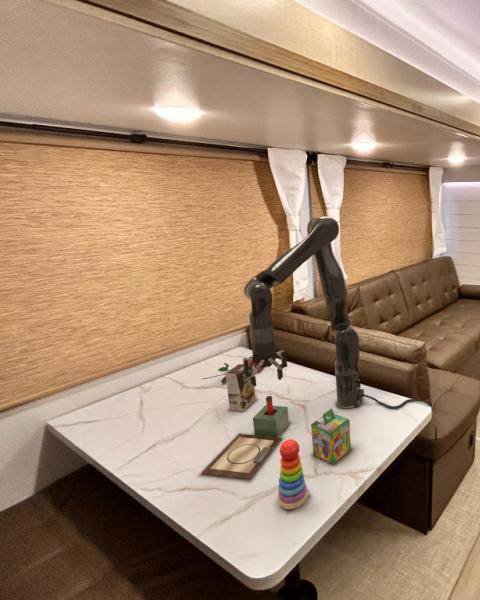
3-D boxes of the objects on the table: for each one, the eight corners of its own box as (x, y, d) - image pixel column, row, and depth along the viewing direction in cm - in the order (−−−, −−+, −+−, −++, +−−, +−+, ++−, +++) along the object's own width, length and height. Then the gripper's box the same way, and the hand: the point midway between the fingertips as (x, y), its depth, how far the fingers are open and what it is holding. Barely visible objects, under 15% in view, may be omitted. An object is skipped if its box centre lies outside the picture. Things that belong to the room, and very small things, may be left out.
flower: (203, 366, 161) (265, 350, 185) (195, 371, 167) (256, 355, 190) (209, 387, 160) (271, 368, 184) (201, 390, 166) (261, 372, 189)
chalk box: (333, 465, 117) (330, 423, 113) (312, 455, 122) (309, 415, 118) (352, 449, 124) (350, 409, 121) (331, 440, 129) (329, 402, 125)
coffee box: (243, 411, 147) (239, 374, 143) (229, 410, 149) (224, 373, 144) (256, 400, 156) (252, 364, 152) (243, 398, 157) (238, 363, 153)
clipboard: (281, 439, 130) (281, 436, 130) (250, 480, 111) (249, 476, 111) (239, 435, 132) (238, 431, 132) (201, 474, 113) (200, 470, 113)
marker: (276, 427, 136) (273, 395, 133) (273, 431, 134) (270, 398, 131) (271, 427, 137) (267, 395, 134) (268, 430, 135) (264, 398, 132)
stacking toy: (274, 511, 100) (267, 450, 95) (283, 488, 107) (277, 431, 103) (304, 510, 100) (298, 450, 95) (310, 488, 107) (306, 431, 103)
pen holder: (289, 423, 139) (287, 406, 137) (277, 437, 131) (276, 420, 129) (267, 421, 141) (265, 404, 139) (254, 435, 132) (252, 418, 130)
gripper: (280, 331, 133) (284, 373, 138) (238, 339, 126) (243, 383, 130) (287, 337, 127) (290, 381, 132) (242, 346, 120) (248, 392, 124)
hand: (267, 382), depth 131 cm, fingers open, 8 cm apart
